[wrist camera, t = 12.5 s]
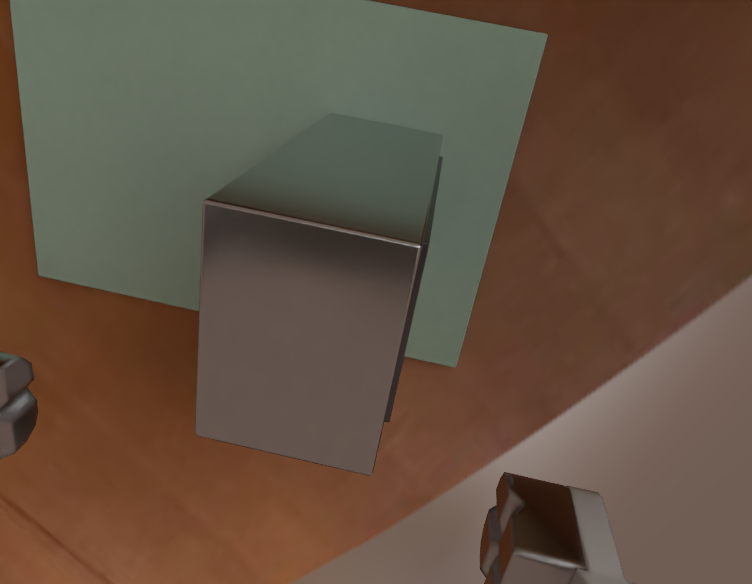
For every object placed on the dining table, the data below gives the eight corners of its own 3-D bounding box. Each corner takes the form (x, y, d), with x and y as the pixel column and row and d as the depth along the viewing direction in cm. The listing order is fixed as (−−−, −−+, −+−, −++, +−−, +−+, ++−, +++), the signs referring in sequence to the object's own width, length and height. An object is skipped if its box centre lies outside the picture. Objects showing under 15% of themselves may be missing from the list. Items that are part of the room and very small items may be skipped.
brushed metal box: (447, 134, 22) (430, 247, 11) (416, 276, 24) (377, 479, 14) (330, 111, 22) (200, 199, 11) (311, 255, 25) (193, 436, 14)
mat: (546, 33, 20) (548, 34, 20) (456, 361, 27) (455, 368, 26) (13, -67, 21) (1, -69, 21) (45, 271, 28) (37, 276, 27)
